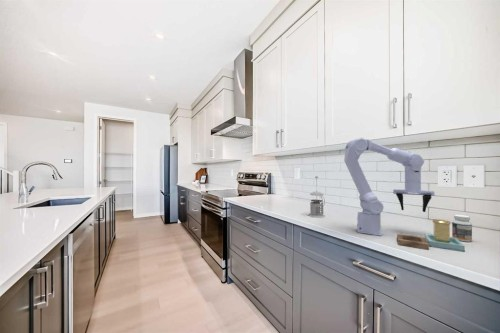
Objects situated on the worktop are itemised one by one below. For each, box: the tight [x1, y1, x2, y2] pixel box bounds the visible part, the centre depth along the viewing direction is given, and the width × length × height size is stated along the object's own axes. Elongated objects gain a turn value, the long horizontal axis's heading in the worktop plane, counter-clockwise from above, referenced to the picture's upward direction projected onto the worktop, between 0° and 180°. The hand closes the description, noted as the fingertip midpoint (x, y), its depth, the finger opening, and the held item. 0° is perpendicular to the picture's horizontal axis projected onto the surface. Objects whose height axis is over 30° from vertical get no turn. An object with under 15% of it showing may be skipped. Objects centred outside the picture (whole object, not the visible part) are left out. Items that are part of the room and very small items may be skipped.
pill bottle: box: [451, 214, 473, 243], centre depth 85 cm, size 6×6×10 cm
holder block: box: [396, 233, 430, 251], centre depth 80 cm, size 9×9×2 cm
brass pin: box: [432, 218, 451, 243], centre depth 79 cm, size 5×5×9 cm
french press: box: [308, 176, 326, 219], centre depth 129 cm, size 10×12×25 cm
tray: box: [424, 233, 466, 252], centre depth 79 cm, size 10×10×2 cm
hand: (413, 210), depth 93 cm, fingers open, 7 cm apart
